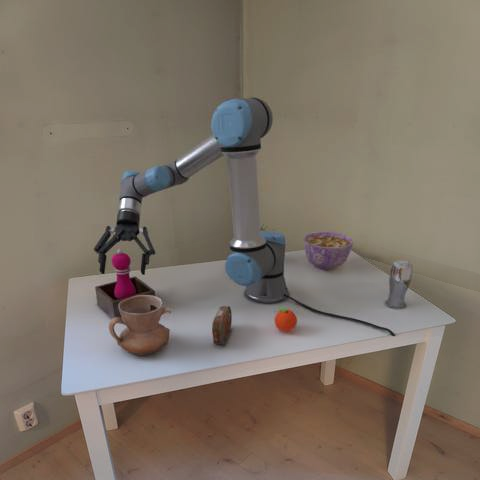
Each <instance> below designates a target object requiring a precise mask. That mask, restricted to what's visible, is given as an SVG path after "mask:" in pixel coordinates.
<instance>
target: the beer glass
mask: <svg viewBox="0 0 480 480" xmlns="http://www.w3.org/2000/svg"><path fill="white" fill-rule="evenodd" d="M413 268H414V264H413V263H411V262H410V261H405V260H394V261H393V262H392V265H391V268H390V272H389V278H388V285H389V287H388V289H389V291H388V298H387V299H386V301H385V305H386V306H388V307H389V308H392V309H402V308H404V307H405V300H406V299H405V298H406V294H407V291H408V289H409V286H410V284H411V281H412V277H413Z"/></svg>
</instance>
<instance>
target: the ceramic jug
mask: <svg viewBox="0 0 480 480" xmlns="http://www.w3.org/2000/svg"><path fill="white" fill-rule="evenodd" d="M150 305H153V306H155V307H157V309H154V310H151V309H150ZM118 308H119V312H120V314H121V318H120V317H116V318H113V319H112V318H111V320H109V323H108V331H109V333H110V336H111V337H112V338H114V340H115V341H116V343H117V345H118V346H119V347H120V348H121V349H122V350H124V351H125V352H127V353H130V354H132V355H139V356H144V355H145V356H146V355H151V354H155V353H157V352H159V351H161V350H163V349H164V348H165V347H166V346H167V345H168V343H169V341H170V332H171V329H170V328H168V327H166V326H165V325H163V324H162V323H160V320H161V317H163V315H164V314H168V313H169V314H171V312H172V308H171V307H166V306H165V307H164V305H163V301H162V299H161V298H160V297H158V296H156V295H155V296H152V295H138V296H133V297H130V298H127V299H125V300H123V301H121V302H120V303H119V305H118ZM116 324H121V325H123V326H124V325H125V326H126V327H125V328H124V329H123V330H122V331H121V332H120V334H119V336H118V334H117V333H116V331H115V325H116Z"/></svg>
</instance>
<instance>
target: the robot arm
mask: <svg viewBox="0 0 480 480" xmlns="http://www.w3.org/2000/svg"><path fill="white" fill-rule="evenodd" d="M273 120H274V117H273V112H272V109H271V107H270V105H269V104H268V102H266V101H265V100H263V99H261V98H259V97H245V98H232V99H229V100H226V101H224V102H222V103H220V104H219V105H218V106H217V107H216V109H215V110H214V112H213V114H212V118H211V124H210V127H211V128H210V129H211V133H212V134H211V135H209V136H208V137H207V138H205V139H204V140H201V142H199V143H197V144H196V145H195V146H193V147H192V148H191V149H189V150H187V151H186V152H184V153H183V154H182V155H180V156H179V157H178V158H176V159H174V160H173V161H171V162H170V163H168V164H164V165H155V166H152V167H149V168H148V169H147V170H144V171H142V172H139V171H136V170H131V171H130V170H128V171H125V172H124V173H123V174H122V179H121V182H120V191H119V200H118V208H117V216H116V224H115V227H111V226H110V225H107V226H106V227H105V231H104V233H103V234H102V235H101V237H100V238H99V239H98V241H97V243H96V244H95V246H94V247H93V251H94V252H95V253H96V254H98V259H97V262H98V263H99V273H100V274H102V275H105V274H106V273H105V272H106V265H107V253H108V252H109V251H110V250H111V249H112V248H113V247H114V246H115V245H117V244H118V243H120V241H122V242H132V241H134V242H135V243H136V245H138V247H139V248H140V249H141V251H142V254H141V263H140V273H141V275H142V276H145V275H146V266H147V265H149V264H150V258H151V256H154V255H156V251H155V248H154V246H153V243H152V242H151V239H150V237H149V230H148V228H147V226H145V225H144V226H142V227H140V222H141V221H140V220H141V213H142V212H141V210H142V201H143V198H146V197H149V196H150V195H153V194H155V193H158V192H160V191H164V190H167V189H170V188H172V187H176V186H179V185H182V184H185V183H186V182H188V181H189V180H190V178H191V177H193V176H195V175H196V174H198V173H199V172H200V171H203V170H204V169H206V168H207V167H209V166H210V165H212V164H214V163H215V162H217V161H218V160H220V159H221V158H224V157H225V158H226V164H227V176H228V185H229V196H230V208H231V219H232V221H231V222H232V232H233V238H232V239H231V240H230V241H229V253H230V254H229V255H228V257H227V258H226V260H225V262H224V268H225V272H226V274H227V277H229V279H230V280H232V281H233V282H234V283H235V284H236V285H238V286H242V287H245V297H247V299H249V300H251V301H252V302H256V303H261V304H274V303H279V302H282V301H284V300H286V298H288V299H289V300H290V301H293V302H294V303H297V304H298V305H300V306H302V307H304V308H305V309H307V310H310V311H313V312H316V313H319V314H321V315H325V316H331V317H335V318H340V319H344V320H345V319H346V320H350V321H354V322H358V323H361V324H364V325H368V326H371V327H374V328H376V329H379V330H383V331H387V332H388V333H389V334H390V335H391V336H392V337H396V335H395V333H394V332H393V331H392V330H391V329H389V328H387V327H384V326H379V325H377V324H374V323H372V322H369V321H365V320H361V319H357V318H355V317H349V316H344V315H340V314H335V313H331V312H330V313H329V312H325V311H322V310H318V309H316V308H312V307H311V306H309V305H306V304H304V303H303V302H300V301H299V300H296V299H295V298H293V297H291V296H290V295H288V294H289V293H288V291H289V289H288V286H287V282H286V278H285V276H284V273H285V257H286V245H287V244H286V236H285V235H284V234H282V233H280V232H277V231H270V230H265V231H261V213H260V212H261V211H260V197H259V182H258V181H259V180H258V178H259V177H258V163H257V155H258V154H259V153H260V151H261V150H262V141H261V139H262V138H264V137H266V135H268V133H269V132H270V131H271V129H272V126H273ZM140 233H141V235H142V236H143V237H144V239H145V242H146V243H147V246H148V248H149V249H147V247H146V245H144V244H143V242H142V240H140V238H139V237H138V235H139V234H140Z"/></svg>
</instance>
